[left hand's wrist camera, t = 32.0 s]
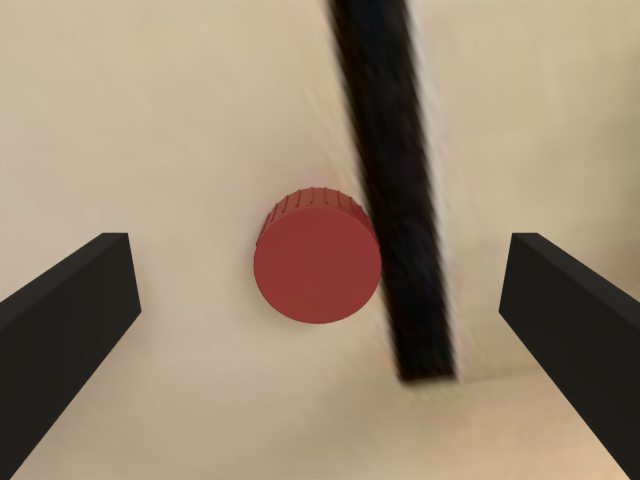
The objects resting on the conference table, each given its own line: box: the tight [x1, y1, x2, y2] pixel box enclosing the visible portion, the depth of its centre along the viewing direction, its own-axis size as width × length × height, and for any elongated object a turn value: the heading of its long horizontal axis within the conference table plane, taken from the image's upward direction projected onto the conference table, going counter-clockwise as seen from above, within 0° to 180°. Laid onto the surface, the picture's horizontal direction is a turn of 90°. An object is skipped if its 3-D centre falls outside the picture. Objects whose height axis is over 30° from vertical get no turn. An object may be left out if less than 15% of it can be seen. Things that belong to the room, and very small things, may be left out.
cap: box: [254, 187, 381, 324], centre depth 14 cm, size 4×4×3 cm
